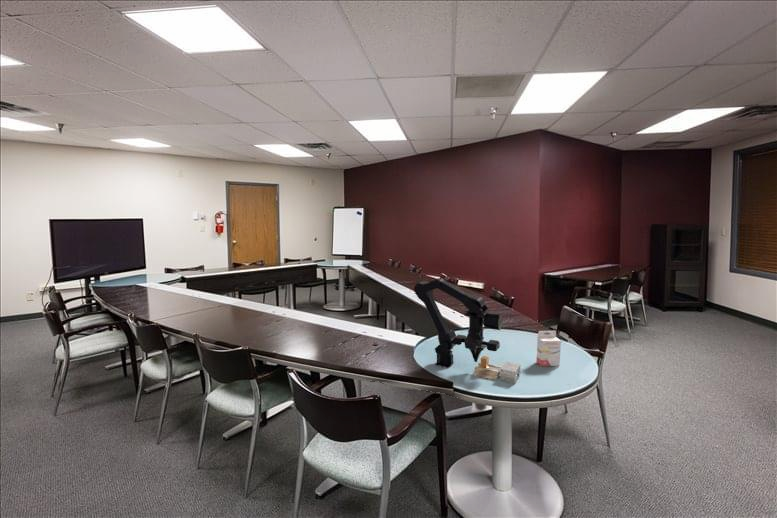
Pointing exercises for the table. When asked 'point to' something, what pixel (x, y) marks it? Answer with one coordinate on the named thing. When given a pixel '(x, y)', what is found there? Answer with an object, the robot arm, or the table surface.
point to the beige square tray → (486, 372)
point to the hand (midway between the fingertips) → (475, 361)
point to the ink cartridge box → (548, 349)
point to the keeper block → (510, 372)
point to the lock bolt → (486, 364)
